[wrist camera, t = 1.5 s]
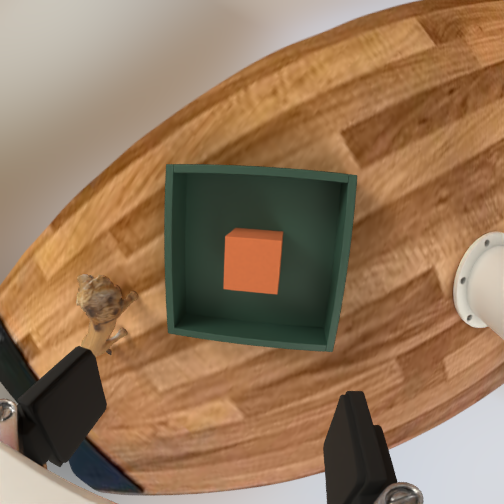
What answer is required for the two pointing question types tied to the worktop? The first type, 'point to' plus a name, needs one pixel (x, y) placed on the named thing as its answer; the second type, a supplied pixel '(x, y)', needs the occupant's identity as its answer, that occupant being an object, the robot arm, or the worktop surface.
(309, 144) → the worktop surface
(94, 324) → the lion figurine
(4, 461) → the robot arm
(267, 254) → the toy cube
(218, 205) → the crate
